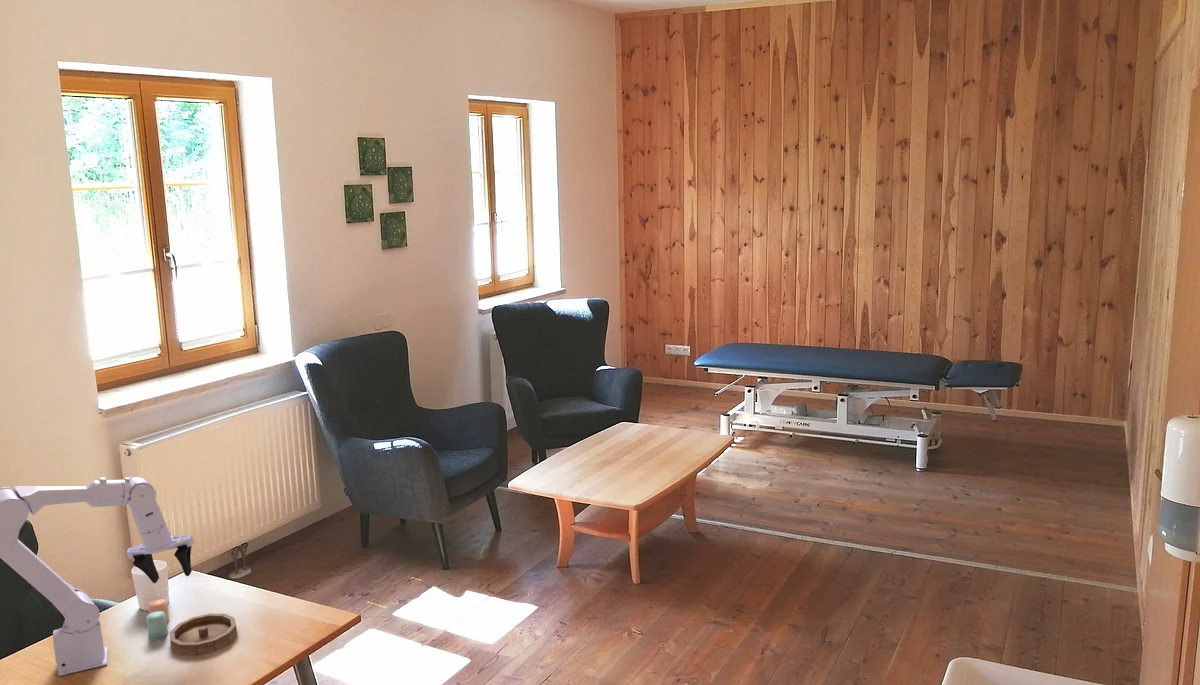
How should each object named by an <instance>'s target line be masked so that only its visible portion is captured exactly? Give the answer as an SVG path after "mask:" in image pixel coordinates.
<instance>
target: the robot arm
mask: <svg viewBox="0 0 1200 685" xmlns="http://www.w3.org/2000/svg"><path fill="white" fill-rule="evenodd" d="M74 503H75V504H76V503H86V504H87V505H88V506H89V507H91V508H102V507H103V508H104V507H123V506H127V505H128V506H129V508H130V511H131V515H132V518H133V521H134V523H135V525H136V527H137V531H138V533H139V535H140V538H141V540H142V542H143V543H141V544H139V545H135V546H132V547H129V548H128V549H127V551H126V555H127V558H128V559H129V560H133V562H132V564H133V567H137V568H139V569H140V570H142V571H143V572H144V573H145V574H146V575H147V576H148V577H149V578H150V579H151V581H152V582H153V583H156V582H157V581H158V579H159V575H158V572H157V570H156V567H155V565H154V562H153V560H154V559H153V555H154V554H158V553H162V552H164V551H167V550H168V551H169V550H173V549H176V551H175V552H174V554H173V555H174V556H175V558H176V559H177V560H178V562H179V564H180V565H181V568H182V570H183V574H184V575H185V577H189V576H191V573H192V565H191V553H192V546H193V545H194V543H195V539H194V537H193V535H192V534H188V535H171V532H170V530H169V527H168V525H167V522H166V519H165V517H164V514H163V513H162V509H161V507H160V505H159V504H158V502H157V490H156V489H155V488H154V486H153V485H152V484H151V483H150V482H148V480H146V479H145V478H143V477H140V476H135V475H131V476H129V477H123V479H107V478H106V477H104V476H103V477H99V478H98V480H91V481H90V482H89V483H87V485H84V486H82V485H81V486H80V485H79V486H78V485H77V486H76V485H75V486H71V485H70V486H67V485H65V486H64V485H61V486H60V485H59V486H56V485H55V486H54V485H52V486H51V485H45V486H44V485H15V486H13V488H12V487H9V486H3V487H0V559H1V560H2V561H3V562H4V563H6V564H7V566H9V567H10V568H12V569H13V570H14V572H16V573H17V574H18V575H19V576H20V577H22V578H23V579H24V580H25V581H26V582H27V583H29V584H30V585H31V586H32V587H33V588H35V590H36V591H38V592H39V593H40V594H42V595H43V597H45V598H46V599H47V600H48V601H49V602H50V603H52V605H53V606H54V607H55V608H56V609H57V610H58V611H59V612H60V614H61V615H62V616H63V617H64V622H63V623H62V624H63V625H62V627H60V628H57V629H54V630H53V632H52V643H53V644H52V645H53V650H54V658H55V659H54V660H55V663H56V668H57V676H58V677H61V676H65V675H68V674H74V673H78V672H82V671H87V670H91V669H95V668H100V667H102V666H106V665H107V664H108V654H109V652H108V648H109V647H108V646H105V645H104V639H103V634H102V633H103V631H102V626H101V620H100V616H101V613H100V609H99V608H98V606H97V605H95V602H94V601H93V600H92V599H91V596H90V594H89V593H88V592H87V591H86V590H83V589H78V588H76V587H74V586H73V585H72V584H70V583H68V582H67V581H65V579H63V578H62V577H61V576H60V575H59V574H58V573H57V572H55V571H54V570H53V569H52V568H51V567H50V566H49V565H48V564H46V563H45V562H44V561H43V560H42V559H41V558H40V557H39V556H37V554H35V553H34V552H33V551H32V550H31V549H30V548H29V547H27V546H26V545H25V544H24V543H23V542H22V541H21V540H20V539H19V534H20V530H21V529H22V527H23V526H24V524H25V522H26V521H27V519H28V517H29V514H31V515H32V516H34V515H36V514H37V513H38V512H39V511H41V509H43V508H44V507H46V506H52V505H53V506H54V505H62V504H63V505H64V504H74Z"/></svg>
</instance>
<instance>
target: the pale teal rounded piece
mask: <svg viewBox="0 0 1200 685" xmlns="http://www.w3.org/2000/svg"><path fill="white" fill-rule="evenodd" d="M145 620H146V627H147V634H148V638H149V639H150V640H153V641H154V640H155V639H157V640H161V639H163V638H165V637H167V636H168V635H169V633H168V625H167V624H168V623H167V624H166V617H165V613H164V612H162V611H158V612H153V613H151V614H149V613H148V615H146V616H145ZM166 635H167V636H166ZM160 638H161V639H160ZM155 641H156V640H155Z"/></svg>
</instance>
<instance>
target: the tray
mask: <svg viewBox="0 0 1200 685" xmlns="http://www.w3.org/2000/svg"><path fill="white" fill-rule="evenodd" d="M237 635H238V629H237V623H236V619H235V617H234V616H231V615H228V614H226V613H206V614H202V615H197V616H192V617H190V618H189V619H185V620H183V621H182V622H179V623H178V624H176V626H175V627H174V628H172V630H170V631H169V641H170V642H169V643H170V649H171V651H172V652H175V653H177V654H178V655H180V656H199V655H203V654H208V653H212V652H215V651H218V650H219V649H220V650H221V649H222V648H224V647H225V646H228V645H229V644H231V643H232V641H233V640H234V639H235V638H236V637H237Z"/></svg>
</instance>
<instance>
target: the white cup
mask: <svg viewBox="0 0 1200 685" xmlns="http://www.w3.org/2000/svg"><path fill="white" fill-rule="evenodd" d="M153 562H154V565H155V567H156V570H157V572H158V575H159V579H158V581H157V582H156V583H153V582H152V581H151V579H150V578H149V577H148V576H147V575H146V574H145V573H144V572H143V571H142V570H140V569H139V568H137V567H135V566H133V567H132V569H131V576H132V581H133V586H134V591H135V595H136V598H137V602H138V607H139V609H140V610H142V611H147V612H149V608H148V604H149V603H150V602H152V601H154V600H158V599H165V600H166V602H167V605H168V604H169V603H170V594H169V589H170V588H169V576H168V566H167V565H168V564H167V562H166V561H164V560H159V559H158V560H157V559H156V560H154V559H153Z"/></svg>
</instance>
